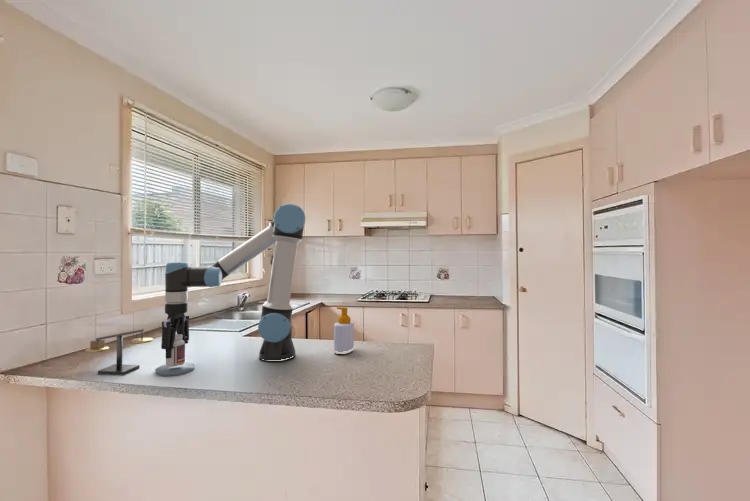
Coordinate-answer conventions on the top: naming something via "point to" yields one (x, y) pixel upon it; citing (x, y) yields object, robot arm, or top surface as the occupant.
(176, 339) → the pill bottle
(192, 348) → the top surface
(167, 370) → the dish
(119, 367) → the balance
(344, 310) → the soap bottle
